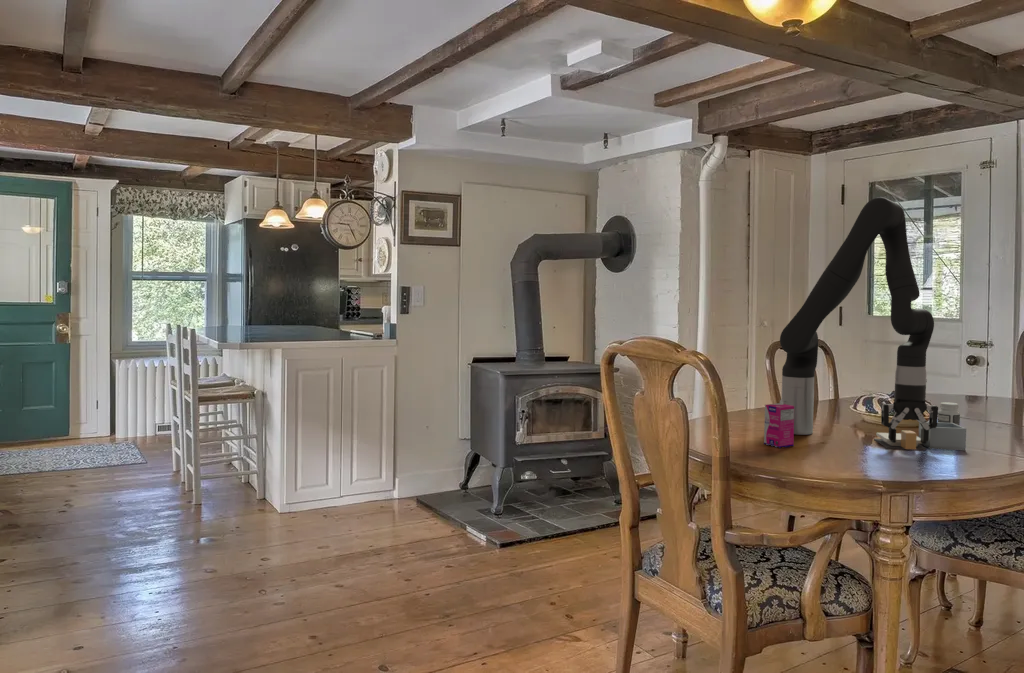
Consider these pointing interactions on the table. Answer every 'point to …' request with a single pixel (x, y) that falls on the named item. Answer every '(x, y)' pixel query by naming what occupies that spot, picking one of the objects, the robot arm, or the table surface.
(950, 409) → the pill bottle
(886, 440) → the lid
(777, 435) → the supplement box
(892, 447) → the mat
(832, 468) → the table surface
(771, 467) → the table surface
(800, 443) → the table surface
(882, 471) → the table surface
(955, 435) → the tub
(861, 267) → the robot arm
